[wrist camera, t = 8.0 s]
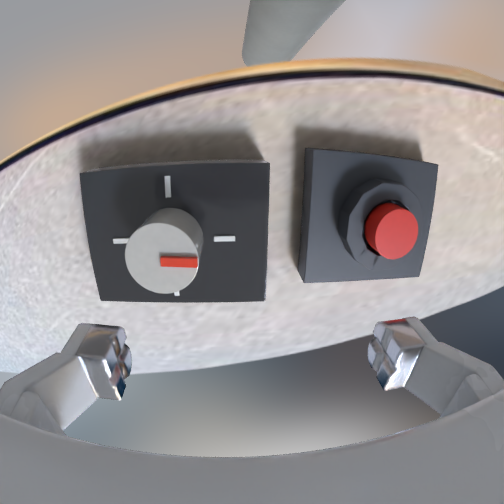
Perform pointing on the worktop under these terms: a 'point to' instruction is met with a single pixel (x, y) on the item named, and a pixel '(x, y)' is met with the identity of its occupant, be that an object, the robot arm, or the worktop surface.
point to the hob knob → (165, 251)
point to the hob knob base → (197, 205)
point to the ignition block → (359, 213)
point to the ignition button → (391, 230)
